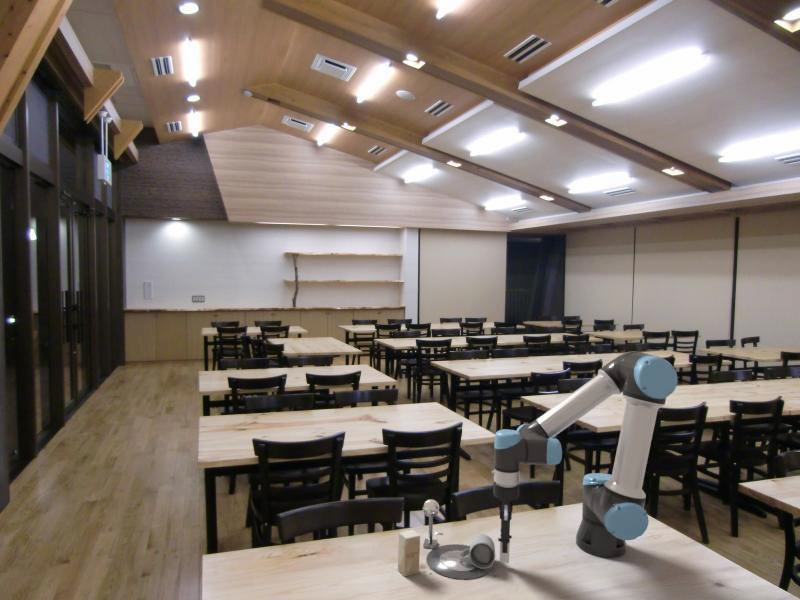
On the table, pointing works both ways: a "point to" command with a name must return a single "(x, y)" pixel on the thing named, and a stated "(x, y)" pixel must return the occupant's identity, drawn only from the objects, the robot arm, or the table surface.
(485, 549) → the ceramic mug
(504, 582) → the table surface
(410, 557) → the box
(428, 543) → the dial stand
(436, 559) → the platter
